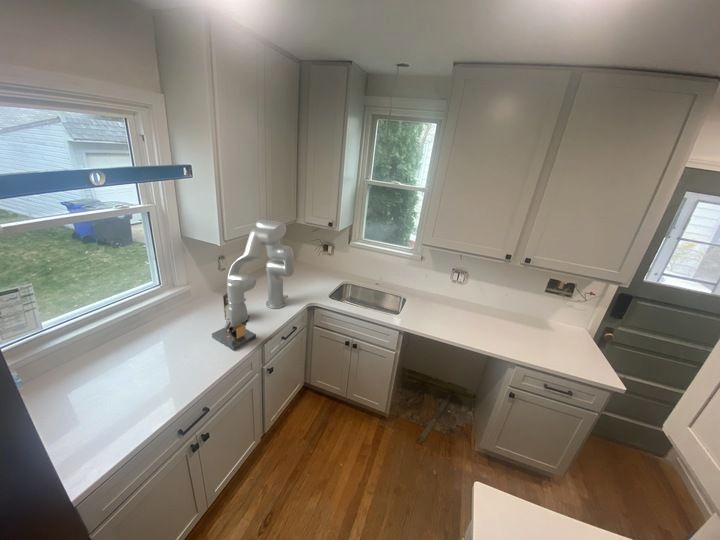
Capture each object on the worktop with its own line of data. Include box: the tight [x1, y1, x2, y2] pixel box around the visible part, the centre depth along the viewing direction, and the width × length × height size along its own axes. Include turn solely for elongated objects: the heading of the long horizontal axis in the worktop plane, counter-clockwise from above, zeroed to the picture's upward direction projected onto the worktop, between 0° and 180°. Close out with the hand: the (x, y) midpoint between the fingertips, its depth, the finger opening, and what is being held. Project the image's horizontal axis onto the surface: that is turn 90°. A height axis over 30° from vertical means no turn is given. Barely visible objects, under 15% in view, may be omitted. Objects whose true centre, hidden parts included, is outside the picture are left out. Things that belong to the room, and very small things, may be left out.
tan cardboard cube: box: [235, 323, 247, 338], centre depth 153 cm, size 5×5×6 cm
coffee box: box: [222, 293, 229, 320], centre depth 171 cm, size 9×6×16 cm
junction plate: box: [211, 325, 257, 351], centre depth 156 cm, size 14×18×6 cm
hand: (238, 333), depth 154 cm, fingers closed on tan cardboard cube, 4 cm apart
